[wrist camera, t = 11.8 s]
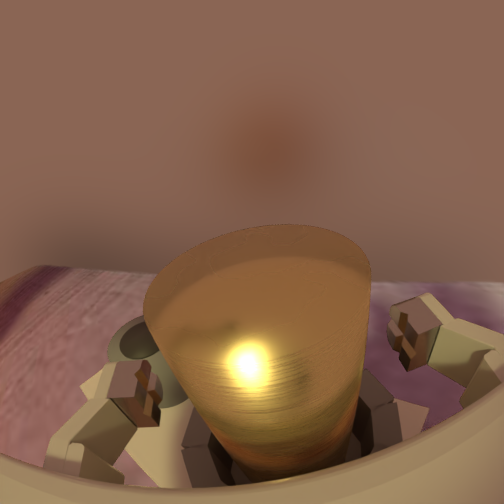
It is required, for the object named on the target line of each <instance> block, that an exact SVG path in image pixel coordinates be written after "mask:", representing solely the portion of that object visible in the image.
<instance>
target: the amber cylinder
mask: <svg viewBox="0 0 504 504" xmlns="http://www.w3.org/2000/svg"><path fill="white" fill-rule="evenodd" d="M370 291H371V268H370V264H369V261H368V259H367V257H366V255H365V254H364V252H363V251H362V250H361V248H360V247H359V246H357V245H356V244H355V243H354V242H353V241H351V240H349V239H348V238H346V237H345V236H343V235H340V234H338V233H336V232H333V231H330V230H327V229H323V228H319V227H313V226H307V225H292V224H284V225H283V224H282V225H267V226H259V227H253V228H247V229H243V230H239V231H235V232H231V233H228V234H224V235H221V236H218V237H216V238H213V239H210V240H208V241H206V242H203V243H201V244H199V245H197V246H195V247H193V248H191V249H190V250H188V251H187V252H185V253H183V254H181V255H180V256H178V257H177V258H176V259H174V260H173V261H172V262H171V263H169V264H168V265H167V266H166V267H165V268H164V269H163V270H162V271H161V272H160V273H159V274H158V275H157V276H156V277H155V279H154V280H153V282H152V283H151V285H150V286H149V288H148V290H147V293H146V295H145V299H144V303H143V315H144V320H145V323H146V325H147V327H148V329H149V331H150V333H151V335H152V337H153V339H154V340H155V342H156V344H157V346H158V348H159V349H160V351H161V353H162V355H163V357H164V358H165V360H166V362H167V363H168V365H169V367H170V369H171V370H172V372H173V374H174V375H175V377H176V379H177V380H178V382H179V383H180V385H181V387H182V388H183V390H184V391H185V393H186V394H187V396H188V398H189V399H190V401H191V402H192V404H193V405H194V407H195V408H196V410H197V411H198V413H199V414H200V416H201V417H202V419H203V420H204V421H205V423H206V424H207V426H208V427H209V428H210V430H211V431H212V433H213V434H214V435H215V437H216V438H217V439H218V441H219V442H220V444H221V445H222V446H223V447H224V449H225V450H226V451H227V453H228V454H229V455H230V457H231V458H232V459H233V460H234V462H235V463H236V464H237V465H238V467H239V468H240V469H241V470H242V471H243V473H244V474H245V475H246V476H247V477H248V479H249V480H250V481H251V482H252V483H260V482H266V481H272V480H278V479H283V478H289V477H293V476H298V475H303V474H307V473H311V472H315V471H319V470H323V469H326V468H330V467H334V466H337V465H340V464H344V462H345V458H346V454H347V450H348V446H349V442H350V437H351V433H352V428H353V424H354V419H355V414H356V409H357V403H358V398H359V392H360V386H361V379H362V372H363V365H364V358H365V350H366V341H367V331H368V320H369V307H370Z"/></svg>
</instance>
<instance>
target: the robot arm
mask: <svg viewBox="0 0 504 504" xmlns="http://www.w3.org/2000/svg"><path fill="white" fill-rule="evenodd" d="M389 315H390V317H391V318H392V319H391V320H390V322H389V323H388V325H387V337H388V341H389V343H390V345H391V347H392V349H393V350H395V351H397V352H399V353H400V354H399V360H400V361H401V363H402V365H403V366H404V368H405V369H406V371H407V372H409V371H411V370H414V369H416V368H419V367H421V366H423V365H426V364H427V365H428V366H430V367H431V368H433V369H435V370H437V371H438V372H440V373H442V374H443V375H445V376H447V377H448V378H450V379H452V380H454V381H455V382H457V383H459V384H460V385H462V386H464V387H466V389H465V391H464V393H463V394H462V396H461V398H460V401H459V402H460V404H461V405H462V407H463V410H461V411H459V412H458V413H456V414H454V415H453V416H451V417H449V418H448V419H446V420H444V421H442V422H440V423H439V424H437V425H435V426H433V427H431V428H429V429H427V430H425V431H423V432H421V433H419V434H417V435H415V436H413V437H411V438H409V439H406V440H404V441H402V442H400V443H397V444H395V445H393V446H390V447H388V448H386V449H383V450H381V451H378V452H375V453H373V454H370V455H367V456H364V457H362V458H359V459H356V460H353V461H350V462H347V463H344V464H340V465H337V466H334V467H330V468H326V469H323V470H319V471H315V472H311V473H307V474H303V475H298V476H293V477H289V478H283V479H278V480H272V481H266V482H260V483H252V484H244V485H235V486H223V487H206V488H161V487H144V486H133V485H124V475H123V473H121V472H120V471H118V470H117V469H115V468H114V467H112V466H113V464H114V463H115V462H116V460H117V459H118V457H119V456H120V454H121V453H122V451H123V450H124V449H125V447H126V446H127V444H128V443H129V441H130V440H131V438H132V437H133V435H134V434H135V433H136V431H137V430H138V428H145V427H160V418H161V410H160V408H159V407H158V405H159V404H160V403H161V401H162V400H163V388H162V384H161V381H160V379H159V377H158V376H157V375H156V374H154V373H153V372H151V367H152V366H151V365H150V363H149V362H148V360H131V361H119V362H107V363H106V364H105V365H104V367H103V370H102V373H101V376H100V379H99V383H98V386H97V389H96V392H95V395H94V399H89V400H88V401H87V402H86V403H85V404H84V405H83V406H82V407H81V408H80V409H79V410H78V411H77V412H76V413H75V414H74V415H73V416H72V417H71V418H70V419H69V420H68V421H67V422H66V423H65V424H64V425H63V426H62V427H61V428H60V429H59V430H58V431H57V432H56V433H55V434H54V435H53V436H52V437H51V439H50V442H49V446H48V449H47V453H46V456H45V460H44V464H43V468H42V467H39V466H36V465H32V464H29V463H27V462H24V461H21V460H18V459H15V458H13V457H10V456H8V455H5V454H3V453H0V504H504V334H501V333H498V332H495V331H493V330H490V329H487V328H484V327H482V326H479V325H476V324H473V323H471V322H468V321H465V320H462V319H460V318H457V319H454V318H453V317H452V315H451V314H450V313H449V312H448V311H447V310H446V309H445V308H444V307H443V306H442V305H441V304H440V303H439V302H438V300H437V299H436V298H435V297H434V296H433V295H432V294H430V293H428V292H427V293H425V294H422V295H419V296H417V297H414V298H411V299H408V300H406V301H403V302H400V303H397V304H394V305H392V306H391V308H390V311H389Z"/></svg>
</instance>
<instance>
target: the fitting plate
mask: <svg viewBox="0 0 504 504" xmlns="http://www.w3.org/2000/svg"><path fill="white" fill-rule="evenodd" d="M107 353H108V359H109V361H110V362H119V361H131V360H148V362H149V363H150V365H151V366H152V367H151V372H153V373H154V374H156V375H157V376H158V377H159V379H160V381H161V384H162V388H163V400H162V401H161V403H160V404H159V405H158V407H159V408H160V410H161V418H160V427H145V428H138V430H137V431H136V433H135V434H134V435H133V437H132V438H131V440H130V441H129V443H128V444H127V446H126V447H125V450H126V451H127V452H128V454H129V455H130V456H131V457H132V458H133V459H134V460H135V462H136V463H137V464H138V465H139V466H140V467H141V468H142V469H143V470H144V471H145V473H146V474H147V475H148V476H149V477H150V478H151V479H152V480H153V481H154V482H155V483H156V484H157V485H158V486H159V487H161V488H206V487H223V486H235V485H244V484H252V482H251V481H250V480H249V479H248V477H247V476H246V475H245V474H244V473H243V471H242V470H241V469H240V468H239V467H238V465H237V464H236V463H235V462H234V460H233V459H232V458H231V457H230V455H229V454H228V453H227V451H226V450H225V449H224V447H223V446H222V445H221V444H220V442H219V441H218V439H217V438H216V437H215V435H214V434H213V433H212V431H211V430H210V428H209V427H208V426H207V424H206V423H205V421H204V420H203V419H202V417H201V416H200V414H199V413H198V411H197V410H196V408H195V407H194V405H193V404H192V402H191V401H190V399H189V398H188V396H187V394H186V393H185V391H184V390H183V388H182V387H181V385H180V383H179V382H178V380H177V379H176V377H175V375H174V374H173V372H172V370H171V369H170V367H169V365H168V363H167V362H166V360H165V358H164V357H163V355H162V353H161V351H160V349H159V348H158V346H157V344H156V342H155V340H154V339H153V337H152V335H151V333H150V331H149V329H148V327H147V325H146V323H145V320H144V315H143V316H140V317H137V318H135V319H133V320H131V321H129V322H128V323H126V324H125V325H124V326H122V327H121V328H120V329H119V330H118V331H117V332H116V333H115V335H114V336H113V337H112V339H111V341H110V343H109V346H108V351H107ZM102 370H103V369H102ZM102 370H100V371H99V372H98V373H96V374H95V375H94V376H92V377H91V378H90V379H89V380H87V381H86V382H85V383H83V384H82V385H81V386H80V388H81V389H82V391H83V393H84V394H85V396H86V397H87V399H88V400H89V399H94V395H95V392H96V389H97V386H98V383H99V379H100V376H101V373H102ZM428 411H429V408H427V407H424V406H420V405H416V404H413V403H409V402H406V401H402V400H399V399H396V398H394V397H393V396H392V395H391V394H390V393H389V392H388V390H387V389H386V388H385V387H384V386H383V385H382V384H381V383H380V382H379V381H378V380H377V379H376V378H375V377H374V376H373V375H372V374H371V373H370V372H369V371H368V370H367V369H365V370H363V372H362V379H361V386H360V392H359V398H358V403H357V409H356V414H355V419H354V424H353V428H352V433H351V437H350V442H349V446H348V450H347V454H346V458H345V462H344V463H347V462H350V461H353V460H356V459H359V458H362V457H364V456H367V455H370V454H373V453H375V452H378V451H381V450H383V449H386V448H388V447H390V446H393V445H395V444H397V443H400V442H402V441H404V440H406V439H409V438H411V437H413V436H415V435H417V434H419V433H421V430H422V427H423V425H424V422H425V420H426V417H427V414H428Z"/></svg>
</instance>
